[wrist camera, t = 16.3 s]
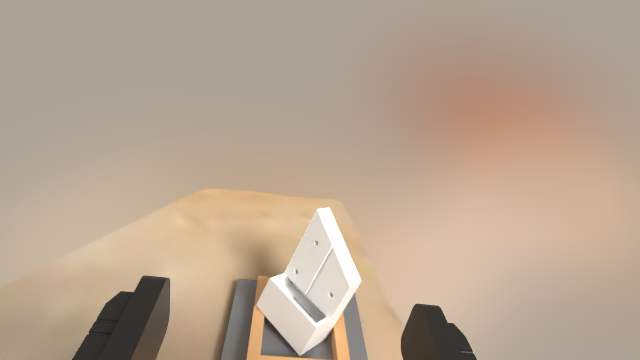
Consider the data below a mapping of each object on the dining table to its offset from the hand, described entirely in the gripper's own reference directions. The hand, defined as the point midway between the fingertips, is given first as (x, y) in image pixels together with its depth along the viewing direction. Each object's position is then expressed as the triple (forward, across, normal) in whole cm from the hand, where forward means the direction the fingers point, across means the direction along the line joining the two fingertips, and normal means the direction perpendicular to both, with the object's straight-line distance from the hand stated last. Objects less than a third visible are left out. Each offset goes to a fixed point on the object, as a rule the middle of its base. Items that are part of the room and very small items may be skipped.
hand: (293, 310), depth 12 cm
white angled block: (+15, -2, +16) cm, 22 cm away
